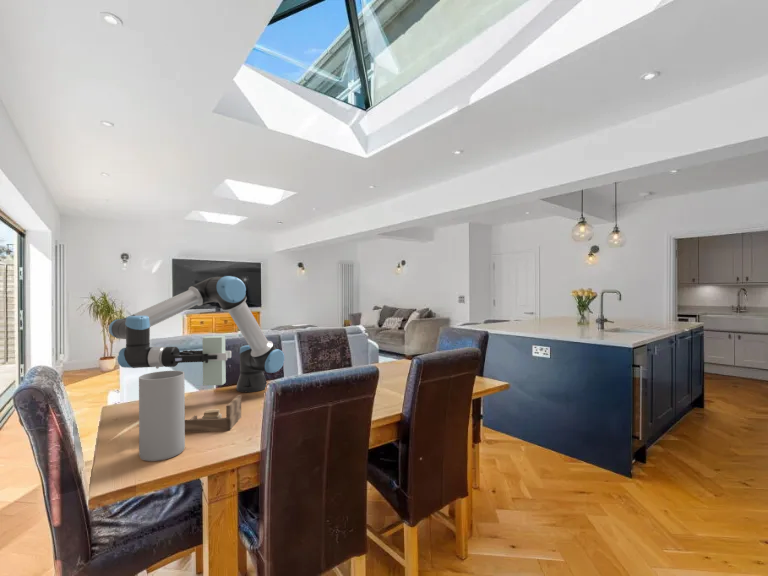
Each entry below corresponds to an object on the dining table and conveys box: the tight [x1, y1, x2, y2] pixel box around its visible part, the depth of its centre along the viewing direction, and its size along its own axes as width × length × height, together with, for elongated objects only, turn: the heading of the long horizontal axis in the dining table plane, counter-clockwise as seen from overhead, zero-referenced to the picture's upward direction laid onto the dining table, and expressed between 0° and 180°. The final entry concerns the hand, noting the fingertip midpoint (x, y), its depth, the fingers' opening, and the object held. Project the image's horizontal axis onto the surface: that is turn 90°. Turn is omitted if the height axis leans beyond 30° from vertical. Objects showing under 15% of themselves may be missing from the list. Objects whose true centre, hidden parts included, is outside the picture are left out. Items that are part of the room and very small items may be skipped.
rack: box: [185, 394, 242, 433], centre depth 142 cm, size 14×18×10 cm
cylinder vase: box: [138, 370, 186, 462], centre depth 120 cm, size 12×12×25 cm
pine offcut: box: [203, 408, 221, 417], centre depth 146 cm, size 4×5×2 cm
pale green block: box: [202, 335, 227, 387], centre depth 143 cm, size 4×7×18 cm, turn 95°
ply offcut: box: [201, 413, 223, 419], centre depth 146 cm, size 4×6×2 cm, turn 95°
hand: (228, 355), depth 144 cm, fingers closed on pale green block, 4 cm apart
